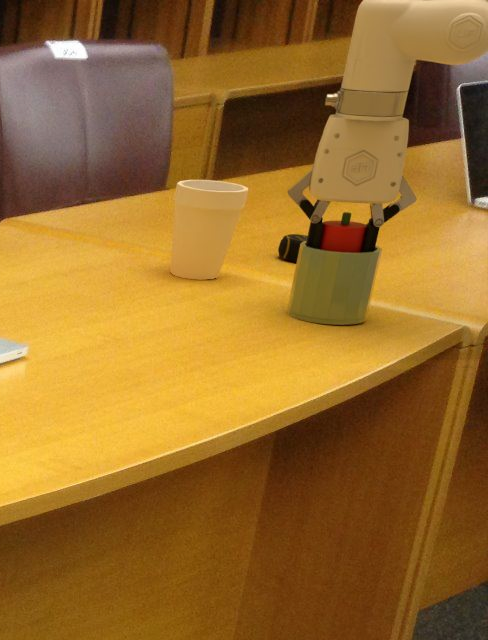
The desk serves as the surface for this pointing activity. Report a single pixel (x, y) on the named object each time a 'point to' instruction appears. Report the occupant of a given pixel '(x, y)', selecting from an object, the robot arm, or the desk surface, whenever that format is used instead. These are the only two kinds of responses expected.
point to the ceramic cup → (333, 285)
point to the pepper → (343, 235)
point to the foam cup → (204, 226)
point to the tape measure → (291, 246)
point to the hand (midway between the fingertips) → (338, 253)
